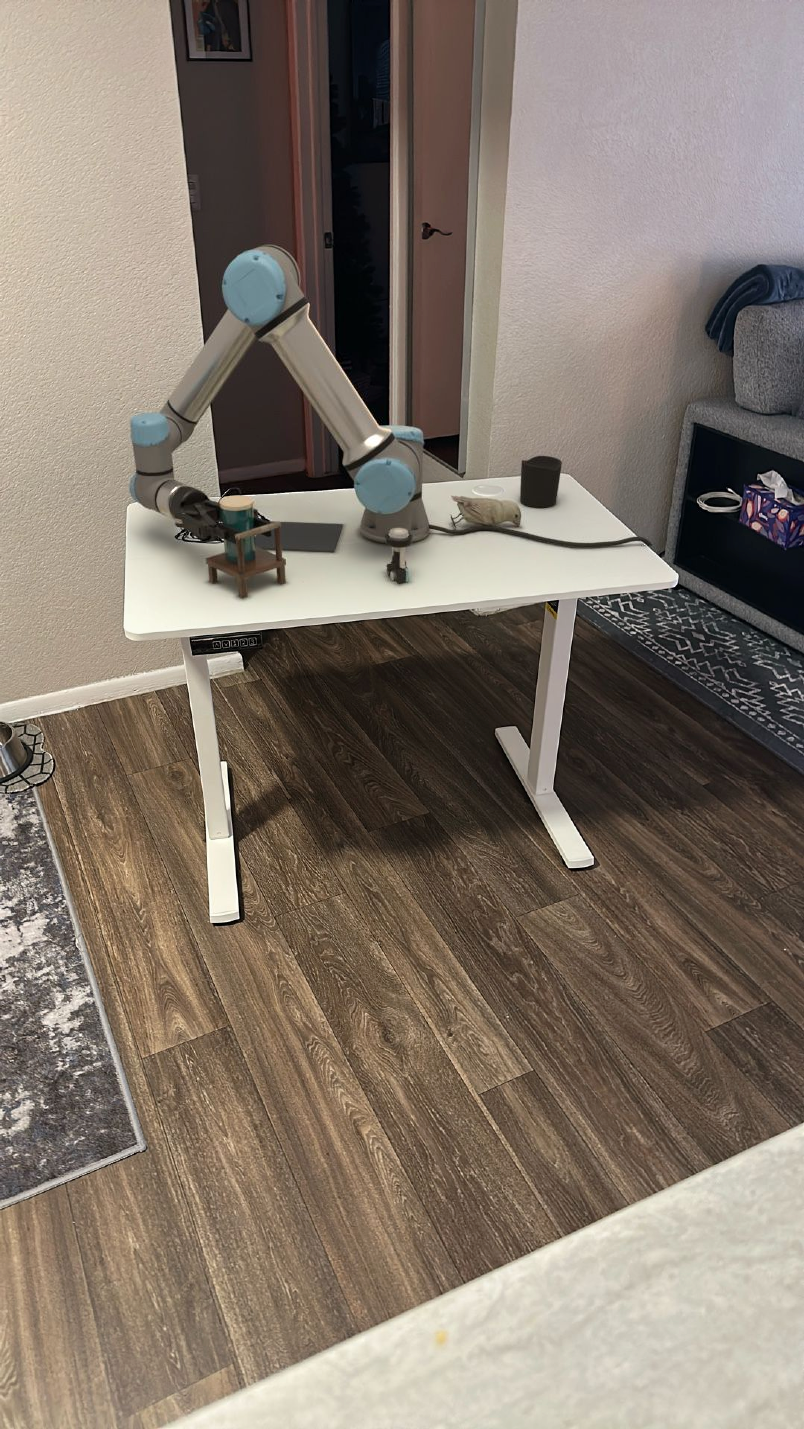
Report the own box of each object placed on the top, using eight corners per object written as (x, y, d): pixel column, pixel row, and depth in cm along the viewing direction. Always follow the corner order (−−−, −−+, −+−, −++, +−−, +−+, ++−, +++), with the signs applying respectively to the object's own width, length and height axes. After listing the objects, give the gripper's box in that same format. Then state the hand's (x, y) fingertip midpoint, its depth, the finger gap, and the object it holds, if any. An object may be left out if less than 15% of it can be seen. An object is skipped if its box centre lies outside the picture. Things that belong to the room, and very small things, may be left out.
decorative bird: (522, 531, 213) (524, 498, 209) (450, 532, 212) (452, 499, 208) (517, 522, 217) (520, 490, 213) (448, 523, 216) (449, 491, 212)
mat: (342, 525, 214) (342, 523, 214) (334, 552, 201) (333, 550, 200) (263, 522, 215) (263, 521, 215) (249, 549, 201) (249, 547, 201)
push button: (376, 574, 191) (376, 527, 186) (398, 569, 193) (399, 522, 188) (394, 586, 186) (394, 538, 181) (416, 580, 189) (417, 532, 183)
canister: (260, 550, 188) (256, 495, 182) (254, 563, 182) (249, 507, 176) (228, 549, 188) (223, 494, 182) (221, 562, 183) (215, 506, 177)
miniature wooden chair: (207, 582, 187) (201, 520, 180) (252, 566, 193) (248, 507, 187) (242, 599, 180) (237, 536, 174) (287, 582, 187) (283, 521, 180)
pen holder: (559, 509, 225) (564, 467, 220) (520, 508, 225) (523, 467, 220) (554, 496, 233) (559, 455, 228) (516, 495, 233) (519, 455, 228)
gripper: (224, 510, 200) (295, 540, 187) (146, 533, 189) (215, 566, 175) (221, 475, 196) (293, 503, 183) (141, 496, 185) (211, 527, 171)
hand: (255, 534), depth 179 cm, fingers closed on canister, 6 cm apart
